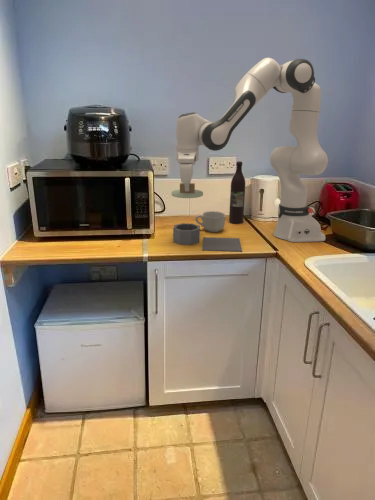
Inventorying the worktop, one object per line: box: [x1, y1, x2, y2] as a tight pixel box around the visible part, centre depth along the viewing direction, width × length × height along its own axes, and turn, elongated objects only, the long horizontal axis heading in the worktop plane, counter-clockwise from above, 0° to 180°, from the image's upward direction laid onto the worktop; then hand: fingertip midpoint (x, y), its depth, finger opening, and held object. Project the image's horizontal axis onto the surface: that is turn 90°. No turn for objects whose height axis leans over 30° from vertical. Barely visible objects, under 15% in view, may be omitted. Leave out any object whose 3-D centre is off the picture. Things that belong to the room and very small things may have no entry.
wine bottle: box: [228, 161, 246, 225], centre depth 186 cm, size 7×7×30 cm
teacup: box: [194, 210, 226, 233], centre depth 177 cm, size 14×11×8 cm
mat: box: [201, 236, 243, 253], centre depth 159 cm, size 16×16×1 cm
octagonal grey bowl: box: [172, 222, 201, 246], centre depth 162 cm, size 11×11×6 cm
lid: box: [171, 182, 204, 199], centre depth 156 cm, size 13×13×4 cm
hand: (187, 190), depth 156 cm, fingers closed on lid, 2 cm apart
